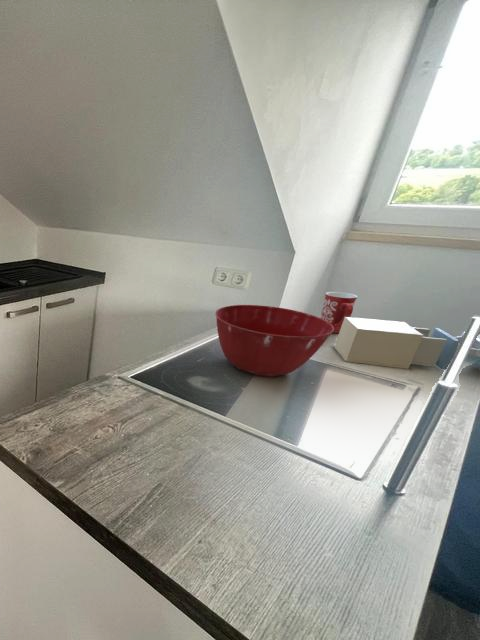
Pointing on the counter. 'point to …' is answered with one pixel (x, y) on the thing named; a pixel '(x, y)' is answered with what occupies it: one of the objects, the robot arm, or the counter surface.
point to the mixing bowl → (269, 338)
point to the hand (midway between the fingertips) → (455, 345)
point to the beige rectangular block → (378, 342)
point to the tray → (435, 348)
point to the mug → (337, 308)
